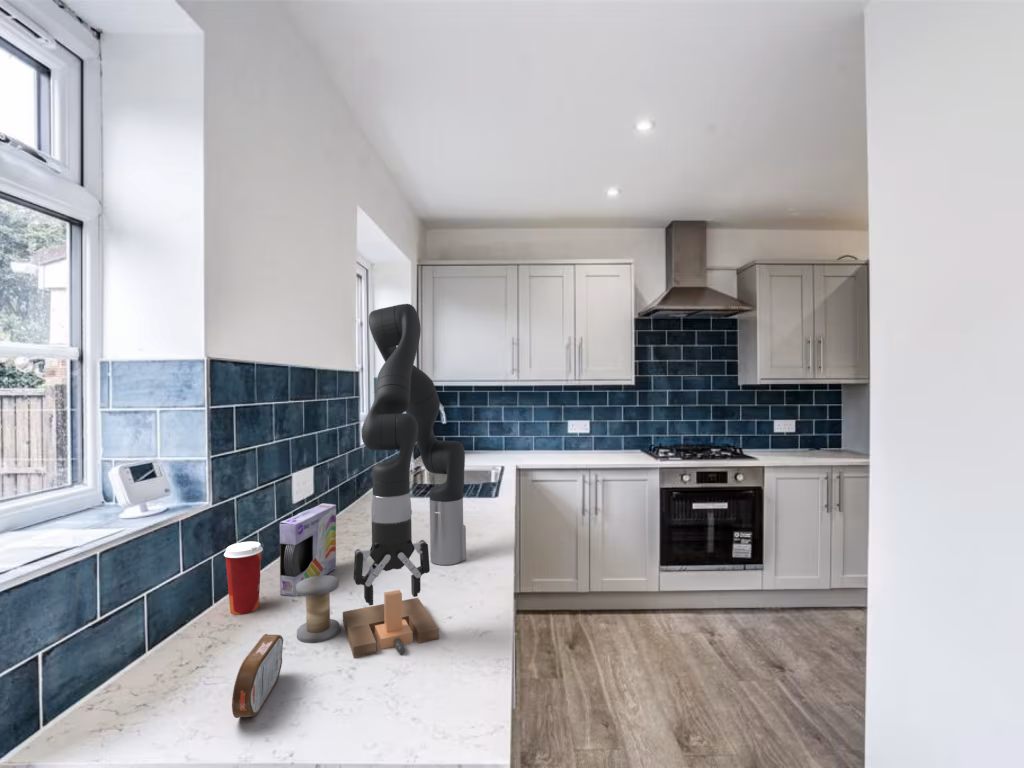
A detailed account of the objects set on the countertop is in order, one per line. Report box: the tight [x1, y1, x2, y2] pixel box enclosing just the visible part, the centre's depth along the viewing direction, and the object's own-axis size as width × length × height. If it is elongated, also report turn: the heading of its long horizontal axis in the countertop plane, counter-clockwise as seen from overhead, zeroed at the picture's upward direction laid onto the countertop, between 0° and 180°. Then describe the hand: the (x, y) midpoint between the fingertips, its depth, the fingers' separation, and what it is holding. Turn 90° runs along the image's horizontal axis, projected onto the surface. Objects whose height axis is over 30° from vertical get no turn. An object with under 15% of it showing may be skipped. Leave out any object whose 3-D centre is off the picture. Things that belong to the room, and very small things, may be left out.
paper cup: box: [223, 541, 264, 616], centre depth 115 cm, size 8×8×14 cm
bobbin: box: [296, 574, 341, 644], centre depth 104 cm, size 8×8×10 cm
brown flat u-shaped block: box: [342, 597, 440, 659], centre depth 105 cm, size 16×16×2 cm
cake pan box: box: [279, 503, 337, 597], centre depth 130 cm, size 19×5×18 cm, turn 168°
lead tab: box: [374, 589, 414, 655], centre depth 99 cm, size 6×10×9 cm, turn 26°
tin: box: [231, 633, 284, 719], centre depth 82 cm, size 15×3×8 cm, turn 6°
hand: (392, 599), depth 101 cm, fingers open, 8 cm apart
